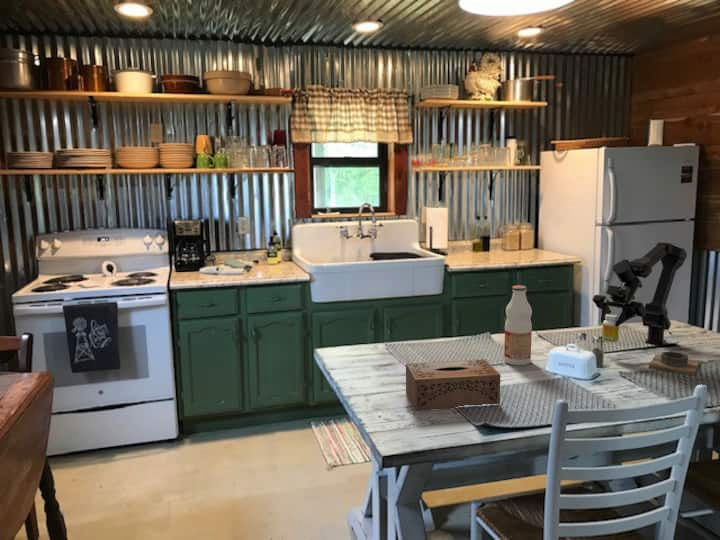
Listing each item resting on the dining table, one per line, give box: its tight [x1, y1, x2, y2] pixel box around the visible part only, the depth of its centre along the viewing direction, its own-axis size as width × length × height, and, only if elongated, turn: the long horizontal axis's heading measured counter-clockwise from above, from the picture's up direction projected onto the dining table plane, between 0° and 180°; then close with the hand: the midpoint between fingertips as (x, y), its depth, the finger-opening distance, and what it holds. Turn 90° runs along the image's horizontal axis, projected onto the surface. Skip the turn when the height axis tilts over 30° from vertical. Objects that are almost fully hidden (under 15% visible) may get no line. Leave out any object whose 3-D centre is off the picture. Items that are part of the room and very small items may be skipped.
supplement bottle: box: [601, 313, 620, 344], centre depth 217 cm, size 5×5×10 cm
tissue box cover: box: [405, 358, 501, 412], centre depth 184 cm, size 26×14×10 cm, turn 97°
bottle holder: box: [648, 350, 700, 376], centre depth 210 cm, size 14×14×4 cm
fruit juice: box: [503, 285, 533, 366], centre depth 215 cm, size 9×9×28 cm
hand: (608, 324), depth 216 cm, fingers closed on supplement bottle, 5 cm apart
